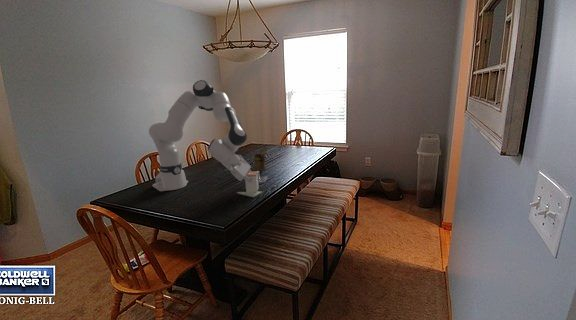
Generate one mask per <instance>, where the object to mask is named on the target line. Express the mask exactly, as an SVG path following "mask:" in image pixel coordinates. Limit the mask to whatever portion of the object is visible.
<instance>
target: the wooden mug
mask: <svg viewBox="0 0 576 320" xmlns="http://www.w3.org/2000/svg"><path fill="white" fill-rule="evenodd" d="M267 153H268V147H266V146H264V147H262V148H261V149H260V150H259V153H256V154H254V157H253V171H266V170H267V167H266V163H265V162H266V156H265V154H267ZM253 171H252V172H253Z"/></svg>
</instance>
